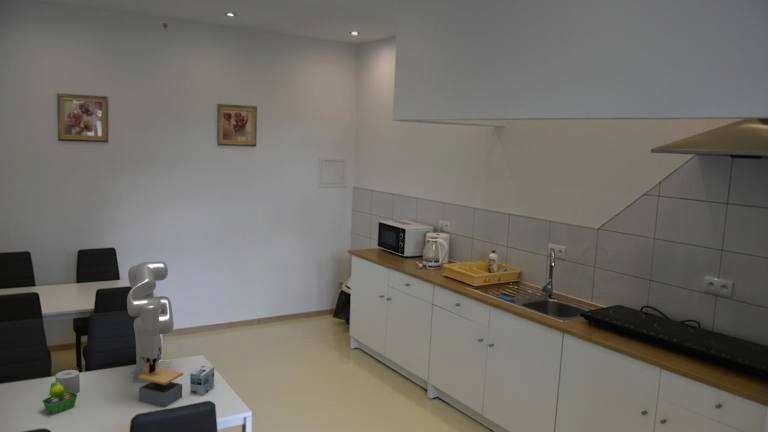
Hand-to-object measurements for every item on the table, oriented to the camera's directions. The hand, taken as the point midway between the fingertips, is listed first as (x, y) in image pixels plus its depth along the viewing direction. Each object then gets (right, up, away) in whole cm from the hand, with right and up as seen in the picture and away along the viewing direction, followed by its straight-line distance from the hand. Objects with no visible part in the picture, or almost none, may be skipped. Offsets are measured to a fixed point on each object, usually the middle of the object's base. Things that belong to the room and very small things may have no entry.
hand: (150, 371), depth 255 cm
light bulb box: (+20, -13, +10) cm, 26 cm away
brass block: (+8, -12, 0) cm, 14 cm away
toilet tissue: (-39, -11, +6) cm, 41 cm away
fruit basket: (-34, -13, -11) cm, 38 cm away
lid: (+5, -3, -2) cm, 6 cm away
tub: (+5, -13, 0) cm, 14 cm away
